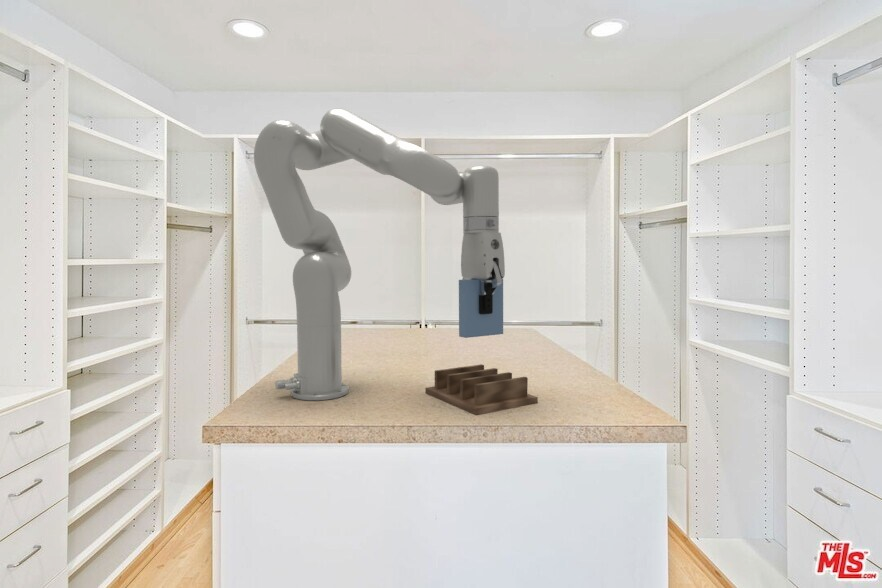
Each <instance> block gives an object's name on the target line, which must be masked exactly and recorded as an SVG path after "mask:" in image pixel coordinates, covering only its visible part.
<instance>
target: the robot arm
mask: <svg viewBox="0 0 882 588" xmlns="http://www.w3.org/2000/svg"><path fill="white" fill-rule="evenodd" d="M348 160H355V161H357V162H358V163H360V164H362V165H364V166H366V167H367V168H370V169H371V170H373V171H375V172H376V173H379V174H381V175H384V176H385V175H386V176H391V177H394V178H396V179H398V180H400V181H403V182H405V183H406V184H408V185H410V186H412V187H413V188H415V189H418V190H419V191H421V192H422V193H424V194H426V195H428V196H429V197H430V198H431V199H432V200H433V202H435V203H437V204H439V205H441V206H451V205H458V204H462V227H463V228H462V234H463V236H462V242H461V254H460V272H461V277H462V279H461V280H470V279H473V280H480V284H481V295H479V314H492V312H493V295H494V290H495V289H496V287H497V286H499V285H500V284H501V283H502V279H503V280H504V278H505V273H506V272H505V271H506V270H505V268H506V265H505V251H504V242H503V237H502V233H501V232H500V231H499V229H500V228H499V227H500V224H499V221H500V220H499V219H500V218H499V214H500V212H499V211H500V209H499V208H500V205H499V201H500V200H499V199H500V198H499V197H500V195H499V179H500V178H499V172H498V170H497V168H495V167H492V166H488V165H487V166H485V165H482V166H481V165H478V166H471V167H469V168H468V167H467V168H466V169H465V170H464V171H458V170H457V168H456V167H455V166H454V165H453V164H451V163H450V162H448V161H447V160H445V159H443V158H441V157H439V156H438V155H436V154H433V153H432V152H429V151H428V150H426V149H424V148H422V147H420V146H418V145H416V144H414V143H411V142H409V141H407V140H405V139H404V138H401V137H399V136H396V135H395V134H392V133H390V132H389V131H388V130H385V129H383V128H381V127H379V126H378V125H376V124H374V123H372V122H370V121H368V120H367V119H364V118H363V117H361V116H359V115H357V114H355V113H353V112H351V111H349V110H347V109H344V108H332V109H330V110H328V111H327V112H326V113H325V114H324V115H323V116H322V118H321V121H320V123H319V130H317V131H314V132H309V131H307V130H306V129H305V128H304V127H302V126H300V125H299V124H298V123H296V122H294V121H293V122H292V121H290V120H287V119H277V120H274V121H271V122H270V123H268V124H267V125H266V126H265V127H263V128H262V130H260V133H259V134H258V136H257V138H256V141H255V145H254V149H253V162H254V166H255V171H256V175H257V178H258V180H259V182H260V185H261V187H262V189H263V192H264V194H265V196H266V199H267V202H268V204H269V207H270V210H271V212H272V215H273V217H274V220H275V222H276V225H277V228H278V230H279V233H280V235H281V238H282V240H283V241H284V243H285V244H286V245H288V246H289V247H290V248H293V249H296V250H302V252H303V256H301V257H300V258H299V259H298V260H297V262H296V263H295V265H294V268H293V272H292V285H293V291H294V298H295V305H296V306H295V307H296V332H297V333H296V343H297V346H296V347H297V349H296V350H297V373H293V377H292V376H291V377H290V378H289V379H280V380H275V382H274V384H275V386H274V387H275V390H282V389H284V391H287V390H290V396H291V397H292V398H293V399H297V400H299V401H300V400H301V401H328V400H334V399H339V398H341V397H344V396H346V395H347V394H349V390H350V388H349V386H348V385H347V384H345V383H342V373H343V371H342V370H343V369H342V313H341V312H342V311H341V310H342V309H341V302H340V296H339V292H341V291H342V290H344V289H345V288H346V287H347V286H348V285H349V283H350V281H351V278H352V267H351V263H350V260H349V258H348V256H347V253H346V251H345V249H344V246H343V243H342V241H341V238H340V236H339V234H338V231H337V229H336V227H335V225H334V223H333V221H332V220H331V219H330V217H329V216H327V214H326V213H324V212H322V211H319V210H316V209H315V207H314V205H313V204H312V202H311V200H310V197H309V195H308V192H307V189H306V186H305V185H304V183H303V180H302V178H301V177H300V175H299V173H298V171H297V169H298V170H302V171H313V170H316V169H317V170H318V169H322V168H325V167H327V166H332V165H336V164H338V163H342V162H346V161H348ZM487 279H489V280H487ZM486 283H488V284H487V285H486Z"/></svg>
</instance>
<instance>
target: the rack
mask: <svg viewBox="0 0 882 588" xmlns="http://www.w3.org/2000/svg"><path fill="white" fill-rule="evenodd" d="M528 379H529V378H528V377H527V376H521V377H520V376H519V377H513V373H512V372H509V371H508V372H502V373H498V368H497V367H494V368H486V369H485V364H483V363H482V364H481V363H480V364H475V365H467V366H459V367H452V368H444V369H436V370H434V386H429V387H427V386H426V387H425V388H424V389H425V394H427V395H429V396H431V397H434V398H436V399H438V400H441V401H443V402H445V403H448V404H449V405H452V406H454V407H456V408H459V409H461V410H463V411H465V412H467V413H470V414H472V415H475V416H478V415H482V414H488V413H492V412H498V411H503V410H507V409H512V408H518V407H522V406H523V407H524V406H528V405H533V404H538V402H539V401H538V399H539V397H538V396H536V395H532V394H529V393H528V381H529V380H528Z"/></svg>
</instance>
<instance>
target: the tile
mask: <svg viewBox="0 0 882 588" xmlns="http://www.w3.org/2000/svg"><path fill="white" fill-rule="evenodd" d="M487 280H489V279H487ZM487 284H488V283H486V285H487ZM479 295H481V284H480V280H473V279H470V280H462V279H458V337H460V338H465V339H469V338H478V337H487V336H488V337H489V336H495V335H496V336H497V335H504V278H503V279H502V283H501V284H500V285H499V286H497V287H496V289H495V290H494V295H493V312H492V314H479Z"/></svg>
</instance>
